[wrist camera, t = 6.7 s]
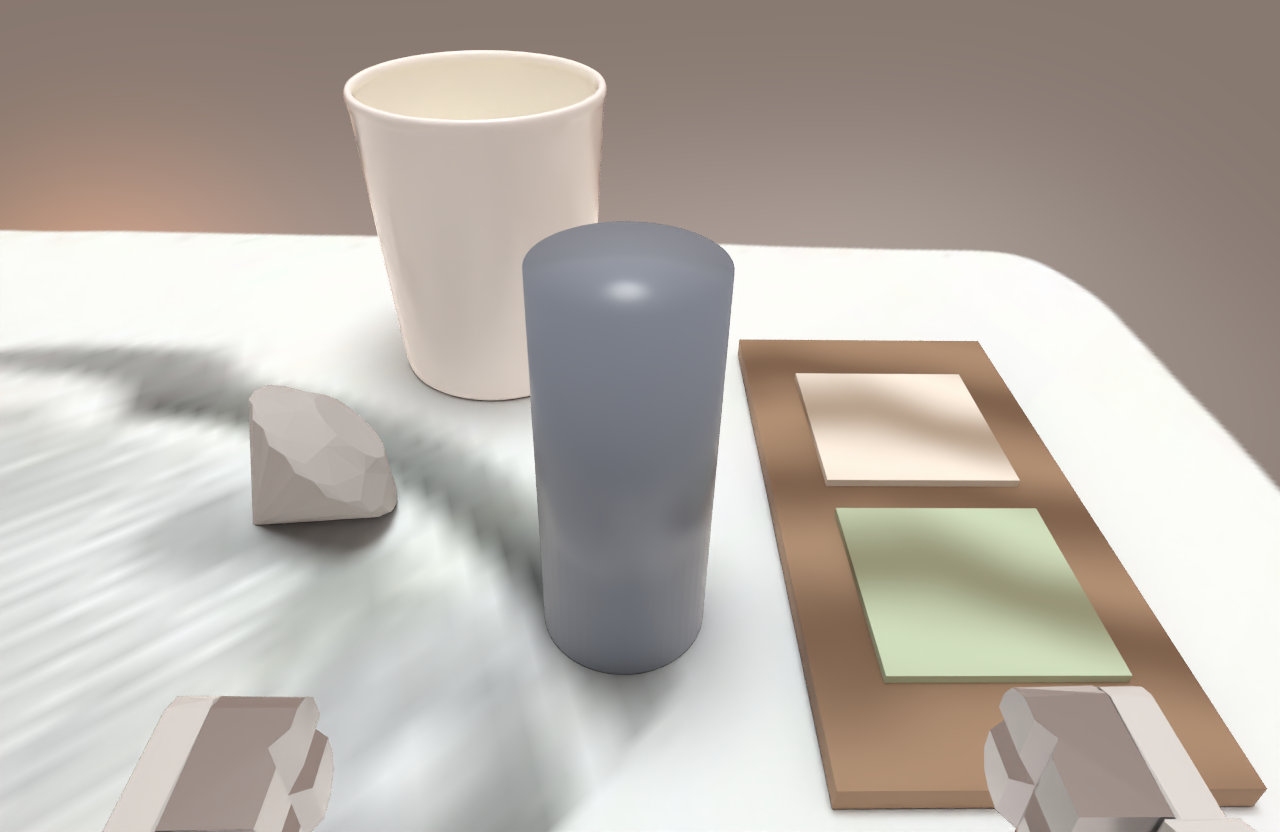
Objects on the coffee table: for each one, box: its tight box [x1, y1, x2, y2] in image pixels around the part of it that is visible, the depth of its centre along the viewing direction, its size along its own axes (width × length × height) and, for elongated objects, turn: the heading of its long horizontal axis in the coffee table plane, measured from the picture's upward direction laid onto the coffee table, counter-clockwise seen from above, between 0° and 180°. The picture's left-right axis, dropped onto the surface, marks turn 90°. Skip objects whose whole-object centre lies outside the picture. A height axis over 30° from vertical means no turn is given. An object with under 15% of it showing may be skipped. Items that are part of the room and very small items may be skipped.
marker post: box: [522, 221, 735, 674], centre depth 24 cm, size 5×5×12 cm
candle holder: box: [343, 50, 606, 400], centre depth 36 cm, size 10×10×12 cm
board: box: [738, 340, 1267, 809], centre depth 31 cm, size 22×11×1 cm, turn 1°
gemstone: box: [249, 385, 397, 525], centre depth 30 cm, size 6×6×5 cm
